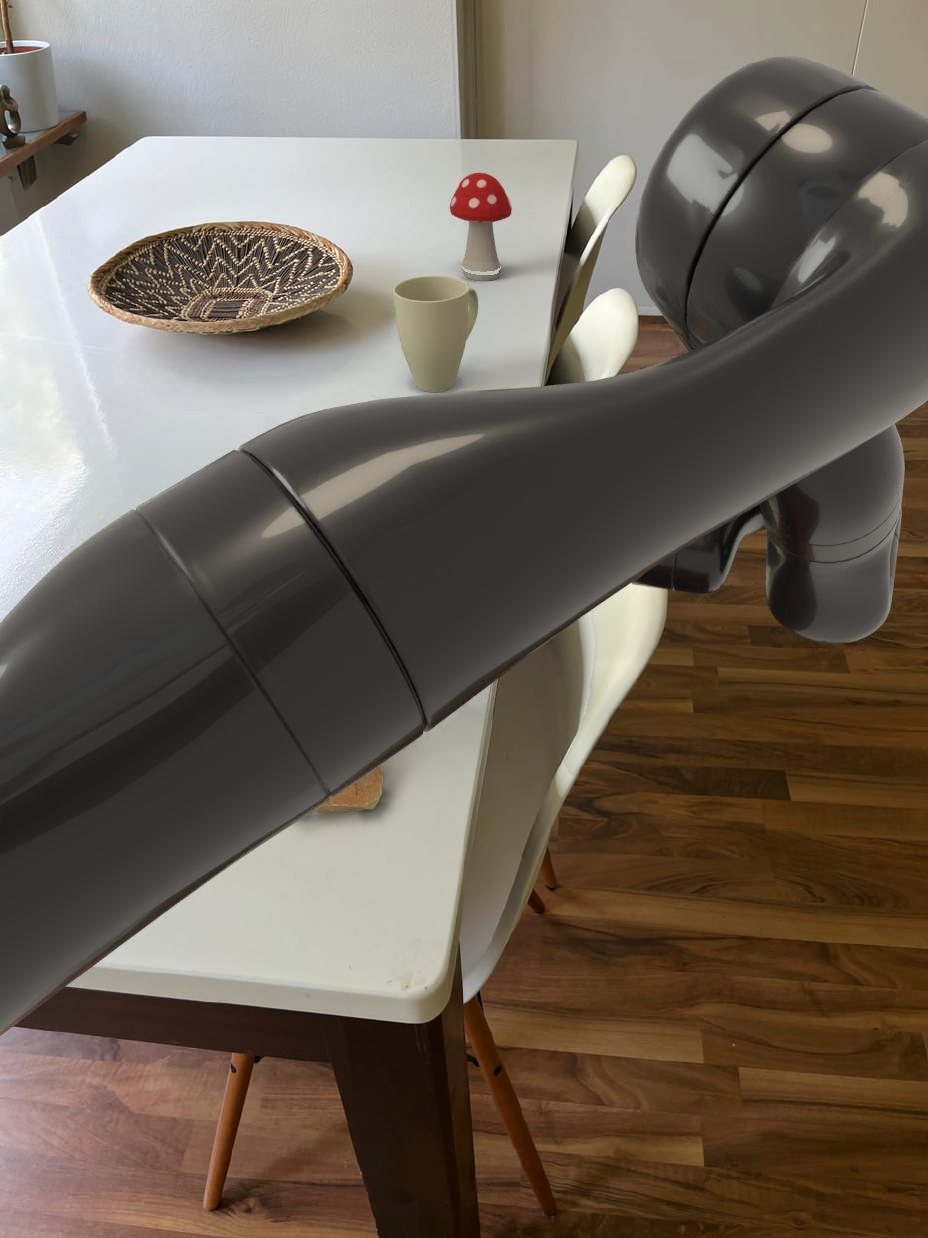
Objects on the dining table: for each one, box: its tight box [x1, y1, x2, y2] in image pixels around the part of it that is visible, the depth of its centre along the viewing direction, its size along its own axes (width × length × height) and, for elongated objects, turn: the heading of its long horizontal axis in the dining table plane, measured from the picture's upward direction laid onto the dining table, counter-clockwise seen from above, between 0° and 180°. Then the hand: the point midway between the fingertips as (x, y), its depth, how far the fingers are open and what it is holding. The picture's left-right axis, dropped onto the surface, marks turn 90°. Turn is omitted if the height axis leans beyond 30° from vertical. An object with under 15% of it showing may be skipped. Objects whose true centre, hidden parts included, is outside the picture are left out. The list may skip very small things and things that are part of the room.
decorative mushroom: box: [449, 172, 513, 282], centre depth 150 cm, size 10×9×15 cm
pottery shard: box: [309, 764, 384, 815], centre depth 71 cm, size 10×9×2 cm
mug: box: [392, 275, 479, 393], centre depth 120 cm, size 11×10×12 cm
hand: (335, 489), depth 68 cm, fingers open, 8 cm apart
